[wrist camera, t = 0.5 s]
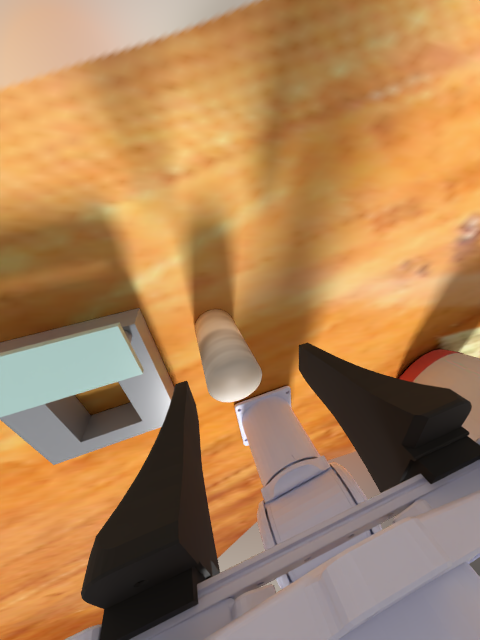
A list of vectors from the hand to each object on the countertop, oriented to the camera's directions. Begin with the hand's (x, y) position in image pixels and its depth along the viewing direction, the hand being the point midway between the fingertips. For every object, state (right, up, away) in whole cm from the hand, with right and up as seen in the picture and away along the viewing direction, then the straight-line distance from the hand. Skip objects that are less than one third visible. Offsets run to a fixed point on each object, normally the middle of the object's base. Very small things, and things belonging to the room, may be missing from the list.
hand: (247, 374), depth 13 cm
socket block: (-14, -2, +8) cm, 16 cm away
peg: (-3, +3, +9) cm, 10 cm away
